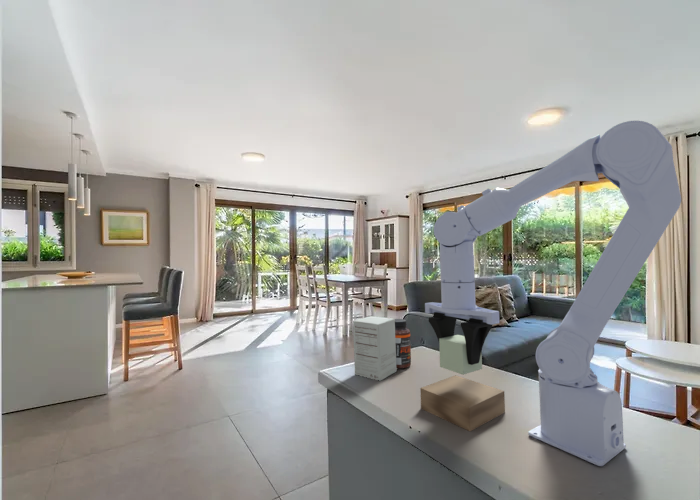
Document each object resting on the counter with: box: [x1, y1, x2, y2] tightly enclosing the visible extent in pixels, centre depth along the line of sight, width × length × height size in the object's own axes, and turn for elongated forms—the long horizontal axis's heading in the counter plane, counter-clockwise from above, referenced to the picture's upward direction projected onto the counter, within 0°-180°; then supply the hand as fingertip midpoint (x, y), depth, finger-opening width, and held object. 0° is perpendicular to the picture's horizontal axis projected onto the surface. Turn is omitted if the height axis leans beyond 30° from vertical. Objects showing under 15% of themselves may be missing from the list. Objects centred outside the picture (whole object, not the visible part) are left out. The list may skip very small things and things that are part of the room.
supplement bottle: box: [394, 318, 412, 369], centre depth 84 cm, size 6×6×11 cm
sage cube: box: [438, 334, 483, 376], centre depth 59 cm, size 5×5×5 cm
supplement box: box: [352, 315, 397, 382], centre depth 79 cm, size 7×7×13 cm
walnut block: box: [419, 375, 506, 432], centre depth 59 cm, size 10×10×4 cm
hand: (460, 359), depth 59 cm, fingers closed on sage cube, 5 cm apart
